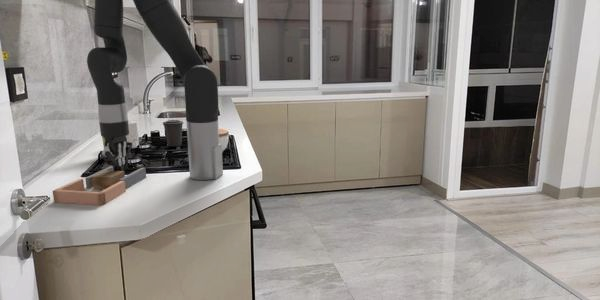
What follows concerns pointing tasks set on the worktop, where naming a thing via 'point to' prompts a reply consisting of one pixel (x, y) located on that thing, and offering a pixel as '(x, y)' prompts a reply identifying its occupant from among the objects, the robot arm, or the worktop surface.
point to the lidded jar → (223, 138)
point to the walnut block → (106, 179)
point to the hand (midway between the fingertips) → (119, 177)
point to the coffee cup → (173, 132)
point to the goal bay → (87, 193)
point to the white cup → (133, 133)
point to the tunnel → (128, 179)
